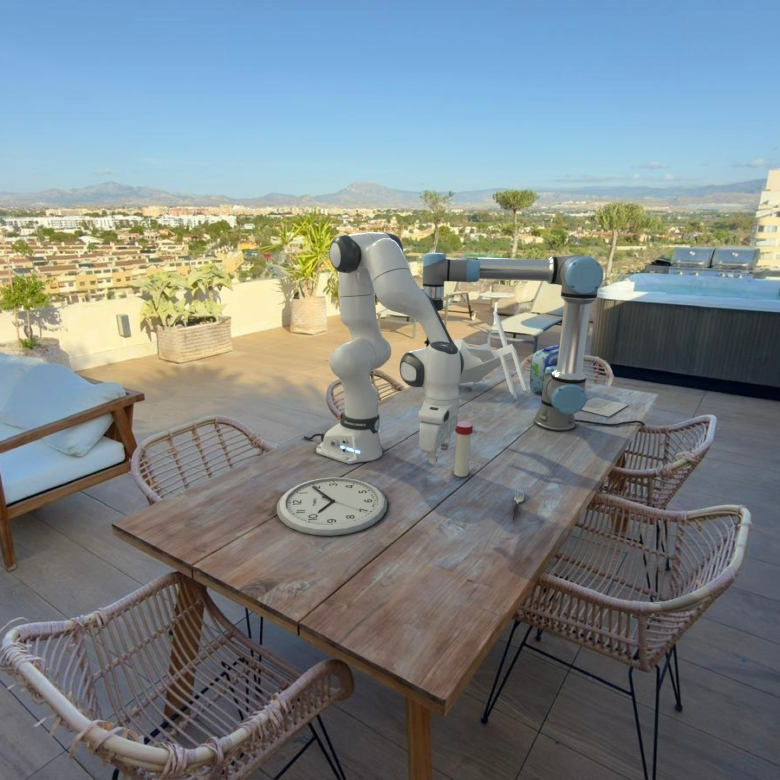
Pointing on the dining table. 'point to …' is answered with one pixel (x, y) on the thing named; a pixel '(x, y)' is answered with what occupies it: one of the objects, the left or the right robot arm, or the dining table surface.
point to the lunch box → (542, 366)
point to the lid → (464, 428)
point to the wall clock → (331, 506)
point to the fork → (517, 499)
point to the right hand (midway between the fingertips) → (430, 357)
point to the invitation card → (603, 406)
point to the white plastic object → (490, 360)
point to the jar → (462, 455)
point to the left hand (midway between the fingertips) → (439, 455)
